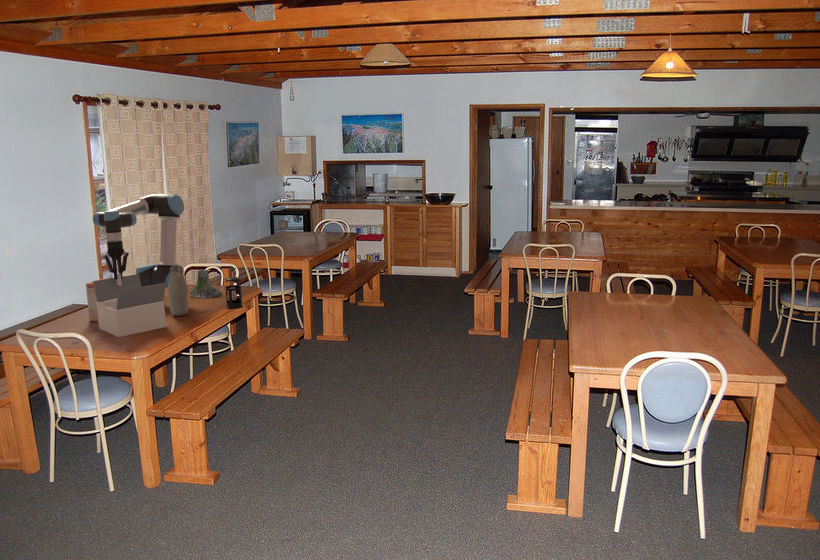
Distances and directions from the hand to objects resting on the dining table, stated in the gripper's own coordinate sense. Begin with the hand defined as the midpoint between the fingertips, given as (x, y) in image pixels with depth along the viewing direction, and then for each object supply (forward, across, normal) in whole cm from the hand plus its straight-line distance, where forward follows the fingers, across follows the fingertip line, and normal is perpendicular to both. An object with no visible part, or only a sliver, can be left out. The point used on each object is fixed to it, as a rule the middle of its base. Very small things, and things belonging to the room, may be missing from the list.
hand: (119, 285), depth 360 cm
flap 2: (+3, 0, -25) cm, 25 cm away
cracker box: (+20, -3, +20) cm, 29 cm away
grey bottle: (+21, +29, -6) cm, 36 cm away
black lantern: (+21, +60, -12) cm, 65 cm away
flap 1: (+1, 0, +1) cm, 2 cm away
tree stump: (+20, +65, +29) cm, 74 cm away
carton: (+21, 0, -11) cm, 24 cm away
